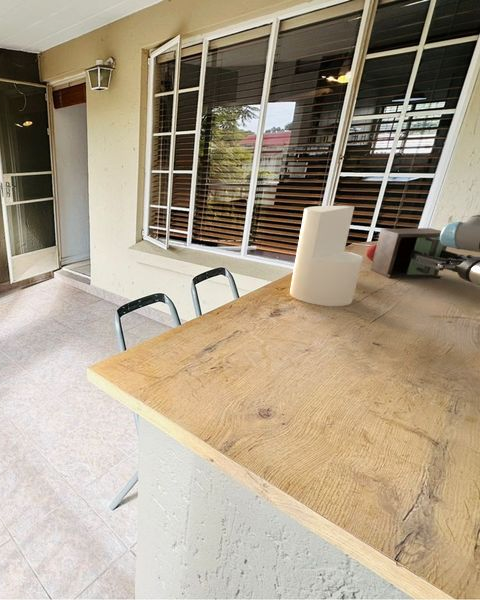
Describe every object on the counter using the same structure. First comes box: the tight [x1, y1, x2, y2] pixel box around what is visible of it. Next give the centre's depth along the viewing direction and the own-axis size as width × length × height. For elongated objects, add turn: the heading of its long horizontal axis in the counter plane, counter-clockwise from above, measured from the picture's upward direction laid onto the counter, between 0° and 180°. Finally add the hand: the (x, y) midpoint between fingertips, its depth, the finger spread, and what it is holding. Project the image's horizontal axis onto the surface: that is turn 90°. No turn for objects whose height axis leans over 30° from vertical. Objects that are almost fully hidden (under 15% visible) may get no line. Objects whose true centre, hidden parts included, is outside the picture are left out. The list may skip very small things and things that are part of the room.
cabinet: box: [370, 227, 448, 280], centre depth 128 cm, size 12×16×16 cm
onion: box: [365, 243, 377, 262], centre depth 147 cm, size 6×6×8 cm
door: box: [407, 237, 443, 275], centre depth 121 cm, size 6×8×14 cm
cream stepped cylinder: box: [289, 205, 364, 307], centre depth 109 cm, size 17×17×28 cm
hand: (426, 253), depth 123 cm, fingers closed on door, 8 cm apart
